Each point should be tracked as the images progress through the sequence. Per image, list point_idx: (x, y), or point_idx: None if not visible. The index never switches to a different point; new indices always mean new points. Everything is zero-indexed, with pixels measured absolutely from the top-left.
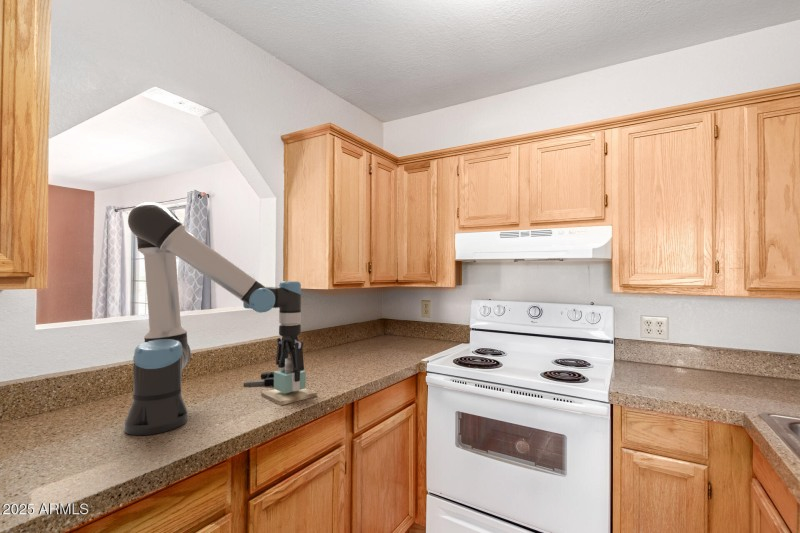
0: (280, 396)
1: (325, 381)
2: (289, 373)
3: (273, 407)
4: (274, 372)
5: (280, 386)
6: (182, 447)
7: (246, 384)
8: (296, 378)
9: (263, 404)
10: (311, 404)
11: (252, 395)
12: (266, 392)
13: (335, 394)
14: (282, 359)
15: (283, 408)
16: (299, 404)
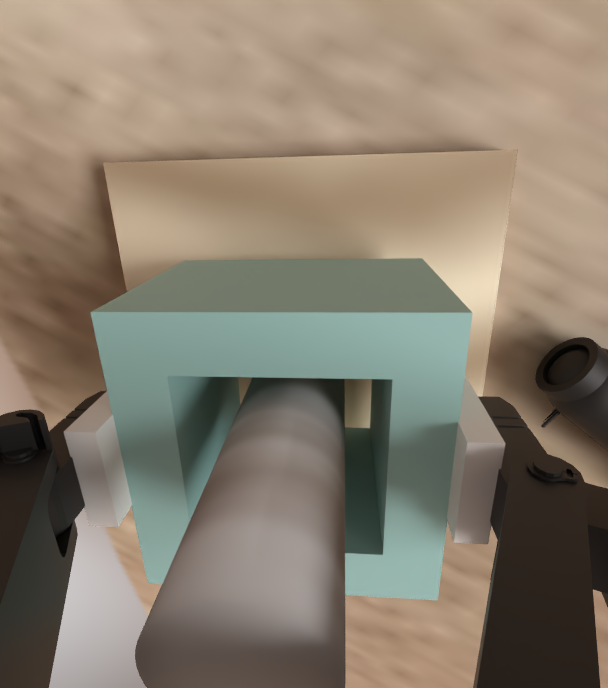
0: (246, 234)
1: (422, 657)
2: (228, 433)
3: (103, 83)
4: (446, 309)
5: (268, 270)
6: None
7: None
8: (72, 414)
9: (239, 43)
10: (18, 350)
11: (596, 81)
12: (468, 192)
13: (128, 550)
14: (490, 602)
15: (34, 143)
16: (61, 289)
